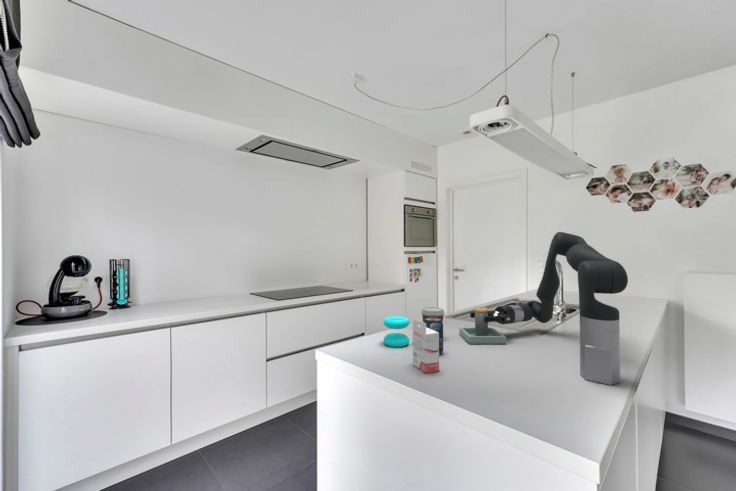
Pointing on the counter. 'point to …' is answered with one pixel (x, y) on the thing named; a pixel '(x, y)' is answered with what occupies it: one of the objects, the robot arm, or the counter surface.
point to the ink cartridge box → (425, 347)
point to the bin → (482, 337)
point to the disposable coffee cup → (432, 313)
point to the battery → (481, 321)
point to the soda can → (436, 329)
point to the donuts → (396, 338)
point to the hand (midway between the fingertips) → (477, 317)
